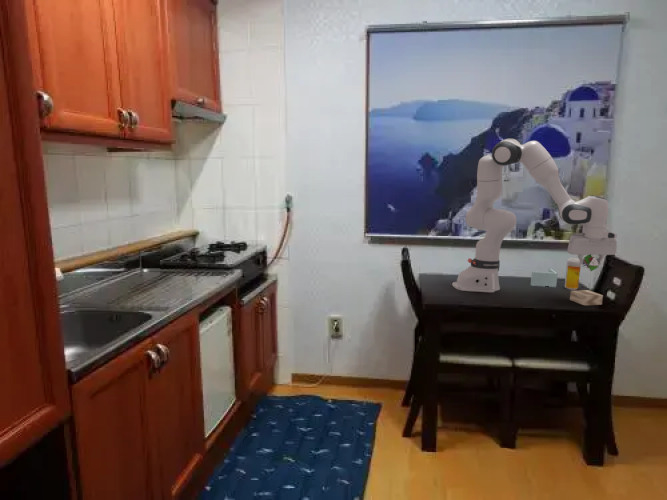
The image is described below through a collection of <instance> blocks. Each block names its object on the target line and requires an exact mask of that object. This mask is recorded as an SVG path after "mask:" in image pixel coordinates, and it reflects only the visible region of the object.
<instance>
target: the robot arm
mask: <svg viewBox="0 0 667 500" xmlns="http://www.w3.org/2000/svg"><path fill="white" fill-rule="evenodd" d="M517 163H521V164H522V165H523V166H524V167H525V169H526V170H527V172H528V173H529V175H530V176H531V177H532V178H533V180H534V181H536V182H537V184H539V185H541V187H543V188H544V189H545V190H547V193H549V195H550V196H551V198H552V199H553V201H554V202H555V203H556V205H557V210H558V216H559V218H560V219H561V221H563V222H565V224H568V225H572V226H575V225H581V224H582V232H581V233H580V232H578V233H577V232H574V233H572V234H571V235H570V236H569V241H568V246H567V253H568V254H571V255H577V259H579V260H580V264H581V266H584V265H585V261H584V260H583V258H584V255H585V256H587V255H591V256H598V257H597V259H598V260H597V261H598V264H599V266H600V265H601V264H602V261H603V260H604V258H605V256H606V255H610V256H611V255H612V256H613V255H615V254H616V253H617V248H618V244H617V240H616V238H617V236H618V234H617V233H615V232H612V231H609V230H607V223H606V222H607V218H608V216H609V215H608V213H609V202H608V199H606V198H605V197H603V196H598V195H593V194H592V195H590V194H589V195H588V196H586V197H585V198H582V199H580V200H577V201H576V200H574V199H573V198H572V197H571V196H570V195H569V193H568V191H567V190H566V189H565V187H564V186H563V184H562V182H561V180H560V172H559V168H558V166H557V164H556V162H555V160H554V159H553V157H552V155H551V154H550V152H549V151H547V149H546V148H545V147H544V146H543V145H542V143H541V142H540V141H537V140H529V141H527V142H526V143H523V144H522V142H521V141H520V140H519V139H518V138H513V137H512V138H510V137H509V138H504V139H502V140H501V141H499V142H498V143H496V144H495V145H494V147H493V148H492V150H491V154H488V155H484V156H482V157H481V158H480V159H479V160H478V164H477V172H476V173H477V174H476V181H477V182H476V185H477V187H476V188H477V190H476V198H475V201H474V203H473V205H472V207H471V208H469V209H468V210H467V212H466V214H465V223H466V224H467V226H468V227H470V228H473V229H475V230H479V231H485V232H486V233H485V236H484V238H483V237H482V238H481V239H479V240H478V241H477V242H476V244H475V256H474V258H473V259H472V258H468V259H467V263H469V264H470V265H469V266H468V267H467V268H465V269H463V270H461V272H459V274H458V276H457V279H456V281H453V282H452V287H453V288H454V289H456V290H458V291H463V292H480V293H495V292H497V291H499V290H501V287H500V283H499V272H500V267H501V266H500V262H501V261H500V253H501V246H502V243H503V241H504V239H505V237H506V236H507V235H509V233H511V232H512V231H513V230H515V227H516V225H517V216H516V214H515V213H514V212H513V211H510V210H507V209H501V208H493V206H494V202H495V201H497V200H498V199H500V198H501V196H502V194H503V174H502V173H503V167H504V166H505V167H506V166H509V165H513V164H517ZM599 258H600V261H599Z"/></svg>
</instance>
